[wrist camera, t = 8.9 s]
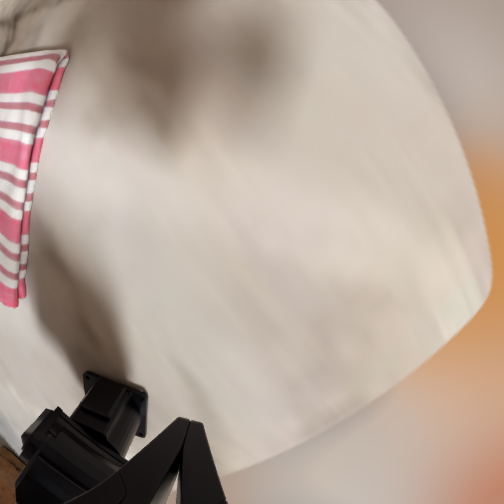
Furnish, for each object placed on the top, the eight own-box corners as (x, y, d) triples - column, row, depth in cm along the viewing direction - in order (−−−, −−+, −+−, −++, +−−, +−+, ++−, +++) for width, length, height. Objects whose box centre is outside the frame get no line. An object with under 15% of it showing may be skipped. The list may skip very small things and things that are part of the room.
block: (0, 450, 30) (-40, 503, 10) (0, 439, 28) (-46, 498, 9) (40, 483, 31) (5, 542, 11) (43, 476, 30) (5, 542, 10)
